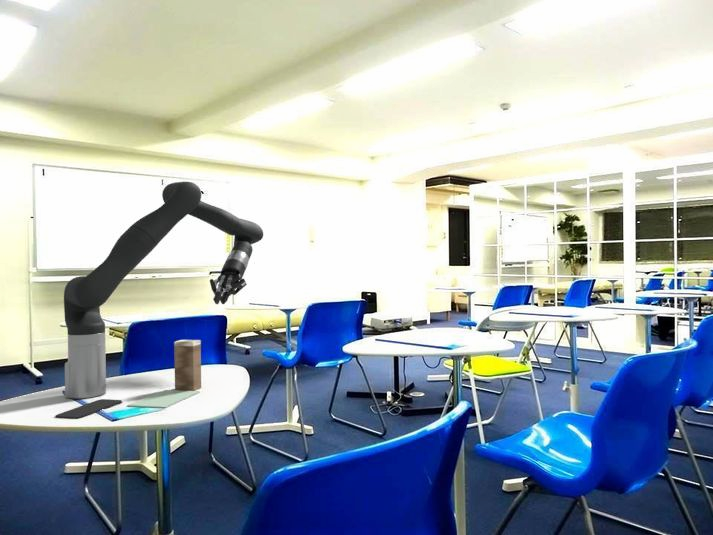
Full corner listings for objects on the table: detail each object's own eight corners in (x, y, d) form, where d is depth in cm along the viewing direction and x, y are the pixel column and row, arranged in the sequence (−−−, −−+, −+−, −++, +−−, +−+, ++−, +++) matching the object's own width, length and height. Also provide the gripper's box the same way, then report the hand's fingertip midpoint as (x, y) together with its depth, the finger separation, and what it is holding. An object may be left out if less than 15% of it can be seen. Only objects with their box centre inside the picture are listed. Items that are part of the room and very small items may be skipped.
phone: (52, 415, 114) (100, 398, 128) (52, 419, 114) (100, 402, 128) (78, 417, 112) (124, 400, 127) (78, 421, 112) (124, 403, 127)
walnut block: (174, 390, 138) (174, 341, 139) (182, 387, 142) (182, 339, 142) (193, 391, 137) (193, 341, 137) (201, 387, 141) (200, 339, 141)
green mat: (127, 406, 122) (127, 405, 122) (165, 391, 138) (165, 389, 138) (165, 408, 120) (165, 406, 120) (199, 392, 136) (199, 391, 136)
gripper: (213, 258, 169) (195, 295, 157) (250, 257, 167) (234, 294, 154) (221, 273, 175) (204, 310, 162) (256, 272, 172) (242, 310, 159)
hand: (219, 302), depth 158 cm, fingers closed
